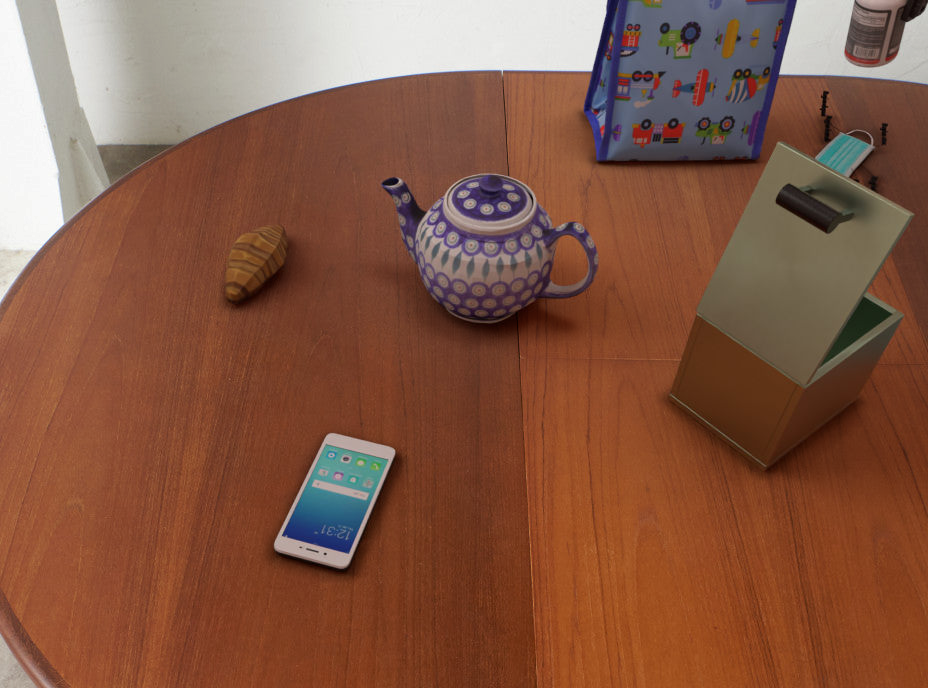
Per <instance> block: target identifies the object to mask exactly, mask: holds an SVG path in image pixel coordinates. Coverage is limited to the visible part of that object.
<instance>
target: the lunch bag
mask: <svg viewBox="0 0 928 688" xmlns="http://www.w3.org/2000/svg"><path fill="white" fill-rule="evenodd" d="M797 3H798V0H606V5H605V15H604V19H603V24H602V28H601V33H600V37H599V41H598V45H597V50H596V54H595V56H594V57H595V58H594V62H593V65H592V70H591V74H590V79H589V83H588V87H587V91H586V95H585V99H584V102H583V113H584V115H585V117H586V119H587V120H588V122H589V124H590V127H591V129H592V135H593V140H594V146H595V156H596V161H597V162H660V161H662V162H663V161H664V162H666V161H668V162H671V161H672V162H673V161H718V160H719V161H720V160H726V161H727V160H728V161H729V160H744V161H745V160H759V159H760V156H761V152H762V148H763V143H764V139H765V133H766V128H767V124H768V121H769V116H770V112H771V108H772V104H773V102H774V101H773V100H774V98H775V93H776V89H777V84H778V81H779V78H780V72H781V68H782V63H783V59H784V55H785V51H786V46H787V44H788V39H789V35H790V33H791V32H790V31H791V27H792V24H793V19H794V15H795V11H796V7H797Z"/></svg>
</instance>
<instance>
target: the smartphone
mask: <svg viewBox="0 0 928 688" xmlns="http://www.w3.org/2000/svg"><path fill="white" fill-rule="evenodd" d="M395 461H396V450H395V449H394V448H393V447H392V446H388V445H384V444H380V443H376V442H371V441H368V440H363V439H359V438H356V437H352V436H347V435H344V434H343V435H342V434H339V433H335V432H331V433H328V434H327V435H326V436H325V438H324V440H323V442H322V443H321V446H320V448H319V449H318V452H317V454H316V456H315V458H314V460H313V462H312V463H311V465H310V466H311V467H310V468H309V470H308V473H307V474H306V476H305V478H304V480H303V483H302V485H301V487H300V489H299V491H298V493H297V495H296V497H295V498H294V502H293V503H292V505H291V507H290V509H289V512H288V514H287V516H286V518H285V520H284V522H283V524H282V526H281V528H280V530H279V531H278V534H277V536H276V538H275V541H274V543H273V550H274V552H275V553H276V554H277V555H279V556H283V557H286V558H291V559H294V560H297V561H302V562H305V563H308V564H312V565H316V566H320V567H323V568H327V569H331V570H334V571H338V572H346V571H348V570H349V568H350V567H351V565H352V563H353V560H354V557H355V556H356V553H357V550H358V548H359V546H360V544H361V542H362V540H363V536H364V534H365V532H366V530H367V528H368V525H369V522H370V520H371V517H372V515H373V513H374V510H375V508H376V505H377V503H378V500H379V499H380V496H381V493H382V491H383V488H384V486H385V485H386V481H387V479H388V476H389V474H390V472H391V469H392V467H393V465H394V462H395Z"/></svg>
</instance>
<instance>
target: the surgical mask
mask: <svg viewBox="0 0 928 688" xmlns="http://www.w3.org/2000/svg"><path fill="white" fill-rule="evenodd" d="M829 94H830V91H828V90H823V92H822V94H821V95H820V98H821V107H820V108H819V111H820V117H823V118H824V117H825V119H823V123H824V124H825V126H824V127H825V128H824V137H823V139H824V140H823V141H824V142H826V143H828V144H826V145H825V146H824V147H823V148H822V149H821V150H820V151H819V153H818V154H817V155H816V156H815V157H813V158H814V159H816V160H818V161H819V162H821V163H823V164H825V165H827V166H828V167H830V168H832V169H834V170H836V171H838V172H839V173H841V174H843V175H845V176H847V177H848V178H851V175H852V174H853V175H854V177H855V178H853V179H852V180H854V181H856V182H857V183H859V184H860V179H858V177H857V175H856V173H855V171H856V169H857V168H858V167H859V166H861V167H862V168H864V165H862V163H863V162H864V160H865V159H866V158H867V157H868V156H869V155H870V154H871V152H872V151H873V150H875V149H876V148H878V147H879V146H886V145H887V141H888V139H887V133H888V132H889V130H887V128H888V126H889V123H886V122H882V123H881V126H880V127H879V130H880V131H881V142H880V144H879V145H876V146H874V138H873V136H872V135H871V134H870V133H869V132H867V131H866V130H863V129H854V130H851V131H849V132H847V133H845V132H843V131H842V130H841V129H839V128H838V127H836V126H834V125H832V124H833V123H832V122H831V120H832V119H833V116H832V115H827V114H826V113H827V109H828V108H829V106H828V105H827V103H828V100H829V99H830V98H829V97H828V96H829ZM831 127H833V128H834V129H836V130H838V131H839V133H838V135H837V136H835V134H834V132H833V130H832V129H831ZM830 132H831V134H832V135H833V137H834V138H833V139H832V140H831V138H830ZM854 132H862V133H866V134H867V136H869V138H870V139H871V141H870V142H871V143H867V142H866V141H863V140H861V139H859V138H857V137H854V136H851V135H849V134H852V133H854ZM865 170H866V171H867V172H868V173H869V174H870V175H871V177H870V180H869V181H868V184H869V185H870V190H872V191H874V192H876V193H877V194H879V192H878V191H877V188H876V187H878V185H879V183H878V184H877V182H876V181H877V180H878V179H879V176H875V175H872V172H870V171H869V170H868V169H867V168H865Z"/></svg>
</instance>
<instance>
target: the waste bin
mask: <svg viewBox="0 0 928 688" xmlns="http://www.w3.org/2000/svg"><path fill="white" fill-rule="evenodd" d="M904 317H905V314H904V313H902V312H901V311H900V310H898V309H896V308H894V307H893V306H891V305H889V304H888V303H887V302H885V301H884V300H882V299H880V298H878V297H876V296H875V295H873V294H871V293H870V292H868V291H867V292H866V293H865V295H864V296H863V298H862V300H861V301H860V303H859V304H858V306H857V308H856V309H855V311H854V312H853V314H852V316H851V317H850V319H849V320H848V322H847V324H846V325H845V327H844V328H843V330H842V332H841V333H840V335H839V336H838V338H837V340H836V341H835V343H834V344H833V346H832V348H831V349H830V351H829V352H828V354H827V356H826V357H825V359H824V360H823V362H822V364H821V365H820V367H819V368H818V370H817V372H816V373H815V375H814V376H813V378H812V380H811V381H810V383H809V384H807V385H805V386H804V385H803V384H801V383H800V382H799V381H797V380H796V379H794V378H793V377H791V376H790V375H788V374H787V373H785V372H784V371H783V370H781V369H780V368H778V367H777V366H775V365H774V364H772V363H771V362H770V361H768V360H767V359H765V358H764V357H762V356H761V355H759V354H758V353H756V352H755V351H754V350H752V349H751V348H749V347H748V346H746V345H745V344H743V343H742V342H740V341H739V340H738V339H736V338H735V337H733V336H732V335H730V334H729V333H727V332H726V331H725V330H723V329H722V328H720V327H719V326H717V325H716V324H714V323H713V322H711V321H710V320H709V319H707V318H706V317H704V316H703V315H701V314H700V313H698V312H697V313H696V314H695V318H694V320H693V323H692V325H691V330H690V332H689V335H688V337H687V341H686V343H685V347H684V350H683V353H682V356H681V358H680V361H679V365H678V368H677V370H676V374H675V377H674V380H673V383H672V386H671V389H670V392H669V394H668V398H667V399H668V401H670V402H671V403H672V404H674V406H677V407H678V408H679V409H681V410H682V411H683V412H684V413H686V415H688V416H689V417H691V419H693V420H695V421H697V423H699V424H700V425H701V426H703V427H704V428H705V429H707V430H708V431H709V432H711V433H712V434H714V435H715V436H716V437H717V438H719V439H720V440H721V441H722V442H723V443H724V444H727V446H729V447H730V448H732V449H733V450H734V451H736V452H737V453H738V454H740V455H741V456H742V457H744V458H745V459H746V460H747V461H749V462H750V463H752V465H754V466H756V467H757V468H758V469H760V470H761V471H762V472H765V471H766V470H768V469H769V468H770V467H772V466H773V465H774V464H776V463H777V462H778V461H780V460H781V459H782V458H784V457H785V456H786V455H788V453H790V452H791V451H792V450H794V449H795V448H797V446H799V445H801V443H803V442H804V441H805V440H807V439H808V438H809V437H810V436H812V435H813V434H814V433H817V431H819V429H821V428H822V427H824V426H825V425H827V424H828V423H829V422H830V421H831V420H832V419H834V418H835V417H836V416H838V415H839V414H840V413H842V412H843V411H845V410H846V409H847V408H848V407H850V406H851V405H852V404H853V403H855V402H856V401H857V400H858V398H859V396H860V395H861V393H862V392H863V390H864V388H865V386H866V384H867V382H868V381H869V379H870V377H871V375H872V373H873V372H874V370H875V368H876V367H877V364H878V363H879V361H880V360H881V358H882V356H883V354H884V352H885V351H886V349H887V347H888V345H889V343H890V341H892V338H893V336H894V335H895V333H896V331H897V329H898V328H899V326H900V324H901V322H902V321H903V319H904Z"/></svg>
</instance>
